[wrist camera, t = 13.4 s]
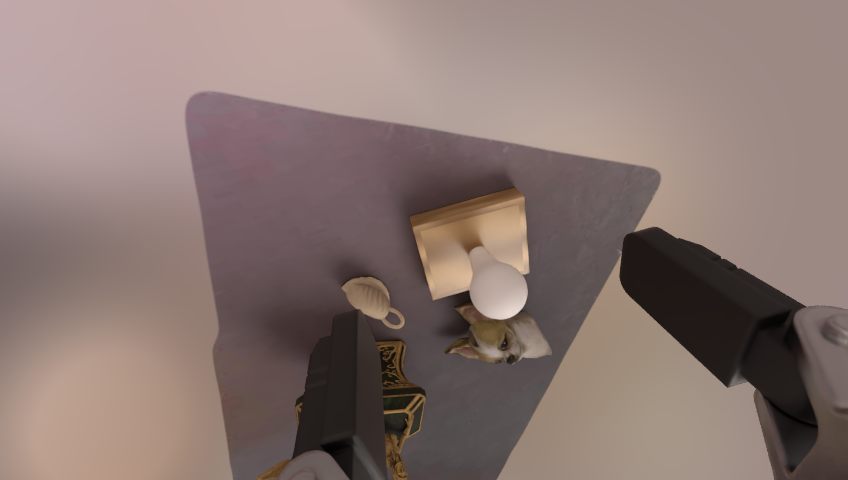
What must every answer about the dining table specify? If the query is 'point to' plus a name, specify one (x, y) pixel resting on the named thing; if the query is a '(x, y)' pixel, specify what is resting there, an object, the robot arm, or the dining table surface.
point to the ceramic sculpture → (499, 337)
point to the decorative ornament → (371, 299)
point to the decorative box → (388, 408)
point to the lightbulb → (495, 286)
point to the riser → (470, 238)
